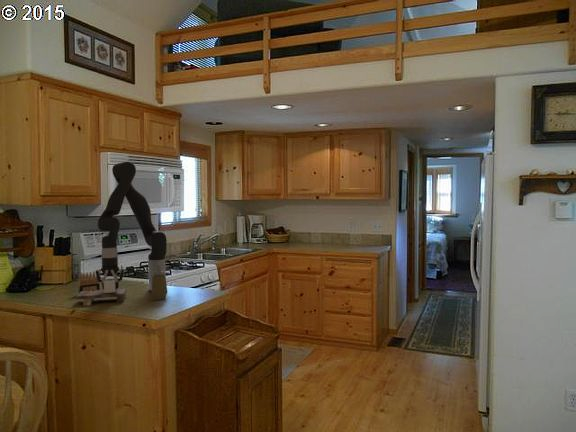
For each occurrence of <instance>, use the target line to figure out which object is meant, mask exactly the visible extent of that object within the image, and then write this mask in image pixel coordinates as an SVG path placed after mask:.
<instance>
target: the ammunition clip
mask: <svg viewBox="0 0 576 432" xmlns="http://www.w3.org/2000/svg"><path fill="white" fill-rule="evenodd" d="M97 290H101V288H100V282H98V279H97V276H96V272H95V271H93V272H92V271H90V272H86V274H85V272H82V273H81V272H80V273H79V275H78V294H79V293H80V292H81V291H97Z"/></svg>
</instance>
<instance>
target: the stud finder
mask: <svg viewBox="0 0 576 432" xmlns="http://www.w3.org/2000/svg"><path fill="white" fill-rule="evenodd" d="M115 282H116V281H115V279H114V277H113V276H112V277H106V279H105V280H104V289H103V290H104V293H111V292H115V291H116V290H117V289H118V288H117V289H116V285H115Z"/></svg>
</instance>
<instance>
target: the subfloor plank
mask: <svg viewBox="0 0 576 432" xmlns="http://www.w3.org/2000/svg"><path fill="white" fill-rule="evenodd" d="M126 294H127V288H117V290H116V291H115V292H111V293H104V289H100V290H97V291H83V290H82V291H81V292H80V293H79V292H78V294H77V295H76V297H75V300H76V301H77V300H82V303H83V304H82V306H83V307H88V306H91V305H92V304H93V302H95V300H96V299H107V298H116V303H124V301H125V299H126V296H127V295H126Z"/></svg>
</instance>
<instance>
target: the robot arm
mask: <svg viewBox="0 0 576 432" xmlns="http://www.w3.org/2000/svg"><path fill="white" fill-rule="evenodd" d="M111 170H112V175H113V178H114V179H115V181H116V182H117V185H116V187H115V188H114V190H113V191H112V192H111V193H110V196H109V198H108V200H107V203H106V207H105V209H104V210H103V212H102V213H101V214H100V216H99V218H98V220H97V228H98V230H100V231H102V232H109V233H108V234H107V235H104V236H102V238H101V254H100V255H101V268H100V269H96V270H95V271H94V272H95V277H96V276H97V279H98V282H99V283H101V290H104V280H105V279H106V278H109V277H112V278H113V277H114V279H115V281H116V282H115V285H116V289H119V287H120V284H119V283H120V282H121V281H123V277H124V272H125V268H120V267H119V262H118V261H119V260H118V257H119V256H118V246H117V245H118V243H117V241H118V240H117V239H118V235H119V231H120V227H121V222H120V220H119V219H118V217H115V216H118V215H119V214H120V213H121V210H122V207H123V204H124V200H125V198H126V200H127V202H128V204H129V206H130V208H131V211H132V213H133V216H135V219H136V221H137V223H138V226H139V227H140V229H141V233H142V235H143V238H144V241H145V243H146V244H147V246H149V247H151V248H150V249H151V250H150V251H151V252H150V253H148V257H147V259H148V260H147V262H148V263H147V265H148V266H147V268H148V289H149V291H152V279H153V276H155V275H154V272H155V271H156V270H157V265H158V264H160V267H161V271H164V274H163V275H165V276H167V275H166V274H167V273H166V255H167V243H168V241H167V236H166V234H165V233H164V232H163V231H157V229H156V228H155V225H154V224H153V222H152V213H151V208H150V205H149V203H148V201H147V198H146V197H145V195H144V194H142V193H141V192H140V191H139V190H138V189H136V187H135V186H134V185H133V183H132V182H133V180H134V178H135V176H136V173H137V169H136V165H135V164H134V162H131V161H122V162H119V163H116V164H114V165H113V166H112V169H111ZM118 272H119V273H120V275H119V278H118V275H117V273H118ZM101 273H102V274H103V278H102V277H101Z"/></svg>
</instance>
